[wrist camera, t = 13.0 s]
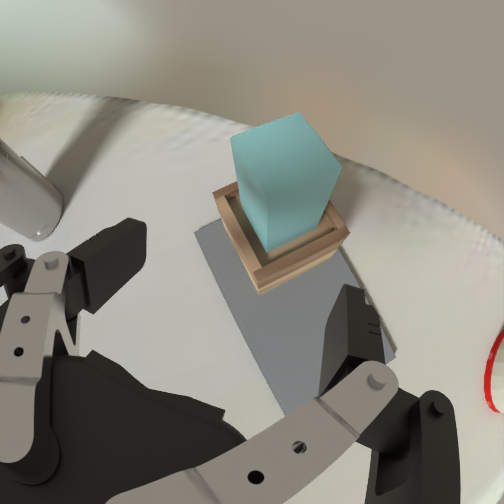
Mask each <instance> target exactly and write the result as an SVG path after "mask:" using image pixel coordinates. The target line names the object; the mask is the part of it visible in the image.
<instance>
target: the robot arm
mask: <svg viewBox="0 0 504 504" xmlns="http://www.w3.org/2000/svg"><path fill="white" fill-rule="evenodd" d="M62 209H63V199H62V196H61V194H60V192H59V191H58V190H57V189H55V188H54V184H53V183H51V182H50V181H49V180H48V179H47V178H46V177H45V176H44V175H42V174H41V173H40V172H39V171H38V170H37V169H36V168H35V167H34V166H32V165H31V164H30V163H29V162H28V161H27V160H26V159H25V158H24V157H22V156H21V157H19V156H18V155H17V154H16V153H15V152H14V151H13V150H12V149H11V148H10V147H9V146H8V145H7V144H5V143H4V142H3V141H2V140H1V139H0V223H2V224H4V225H5V226H7V227H9V228H10V229H12V230H14V231H16V232H17V233H19V234H21V235H23V236H25V237H26V238H28V239H30V240H32V241H41V240H43V239H45V238H46V237H47V236H48V235H50V233H51V232H52V231H53V230H54V228H55V227H56V225H57V223H58V221H59V219H60V216H61V214H62ZM146 235H147V227H146V224H145V222H142V221H139V220H136V219H132V218H126V219H125V220H123V221H121V222H120V223H118V224H117V225H115V226H112V227H109V228H106V229H103V230H102V231H100V232H99V233H97V234H96V236H95V235H94V236H92V237H91V238H89V240H86V241H85V242H83V243H82V244H80V245H79V246H77V247H76V248H74V249H73V250H71V251H70V252H68V253H67V254H65V253H63V252H60V251H52V252H47V253H45V254H43V255H41V256H39V257H38V258H37V259H36V260H34V259H29V258H26V254H25V250H24V247H23V246H22V245H19V244H12V245H8V246H5V247H3V248H2V249H0V287H1V286H3V285H4V288H5V291H6V294H7V297H8V300H7V301H6V302H5V303H3V304H2V305H1V306H0V504H283V503H284V502H286V501H287V500H288V499H290V498H291V497H292V496H294V495H295V494H296V493H298V492H299V491H300V490H301V489H303V488H304V487H305V486H307V485H308V484H309V483H310V482H311V481H313V480H314V479H315V478H316V477H317V476H319V475H320V474H321V473H322V472H323V471H324V470H326V469H327V468H328V467H329V466H330V465H331V464H332V463H333V462H334V461H336V460H337V459H338V458H339V457H340V456H341V455H342V454H343V453H344V452H345V451H346V450H347V449H348V448H349V447H350V446H351V445H352V444H353V443H354V442H355V441H356V442H358V443H360V444H362V445H364V446H366V447H368V448H370V449H372V453H371V462H370V471H369V478H368V485H367V492H366V498H365V504H460V460H459V447H458V437H457V428H456V421H455V414H454V408H453V405H452V403H451V402H450V400H449V399H448V398H447V397H446V396H445V395H444V394H442V393H441V392H439V391H435V390H429V391H427V392H425V393H424V394H423V395H422V396H421V397H420V398H418V397H416V396H414V395H412V394H410V393H408V392H406V391H404V390H402V389H401V388H399V387H398V386H399V385H398V379H397V377H396V375H395V373H394V372H393V371H392V370H391V369H390V368H389V367H388V366H386V364H385V355H384V347H383V340H382V336H381V335H382V333H381V328H380V320H379V315H378V314H377V312H376V311H375V309H374V307H373V306H372V305H368V304H366V302H365V294H364V290H363V289H361V288H358V287H355V286H351V285H348V284H344V285H343V286H342V288H341V290H340V293H339V295H338V297H337V299H336V301H335V304H334V306H333V308H332V310H331V312H330V314H329V317H328V320H327V323H326V326H325V333H324V345H323V356H322V365H321V375H320V383H319V391H318V397H317V396H315V397H313V398H311V399H310V400H308V401H307V402H306V403H304V404H303V405H301V406H300V407H299V408H297V409H296V410H294V411H293V412H291V413H290V414H288V415H287V416H285V417H284V418H282V419H281V420H279V421H278V422H276V423H275V424H273V425H272V426H270V427H268V428H267V429H265V430H264V431H262V432H260V433H259V434H257V435H256V436H254V437H252V438H250V439H249V440H246V439H245V437H244V436H243V435H242V434H241V433H240V432H239V431H238V430H236V429H235V428H234V427H233V426H231V425H230V424H228V423H227V422H225V421H224V420H223V417H224V413H225V410H223V409H220V408H217V407H215V406H212V405H209V404H206V403H204V402H201V401H198V400H196V399H193V398H191V397H188V396H183V395H177V394H172V393H167V392H162V391H157V390H152V389H149V388H147V387H145V386H144V385H143V384H142V383H140V382H139V381H138V380H137V379H136V378H134V377H133V376H132V375H131V374H130V373H128V372H127V371H126V370H125V369H124V368H123V367H122V366H121V365H119V364H117V363H115V362H113V361H112V360H110V359H108V358H106V357H104V356H103V355H101V354H99V353H97V352H96V351H94V350H92V351H91V352H90V353H89V354H88V355H87V357H81V356H79V339H80V322H81V316H80V311H81V310H82V309H84V310H86V311H88V312H90V313H92V314H95V313H96V312H97V311H98V310H99V309H100V308H101V307H102V306H103V305H104V304H105V303H106V302H107V301H108V300H109V299H110V298H111V297H112V296H113V295H114V294H115V293H116V292H117V291H118V290H119V289H120V288H121V287H122V286H124V285H125V284H126V283H127V282H128V281H129V280H130V279H131V278H132V277H133V276H134V275H135V274H136V273H138V272H139V271H140V270H141V269H142V267H143V265H144V263H145V260H146Z"/></svg>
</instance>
